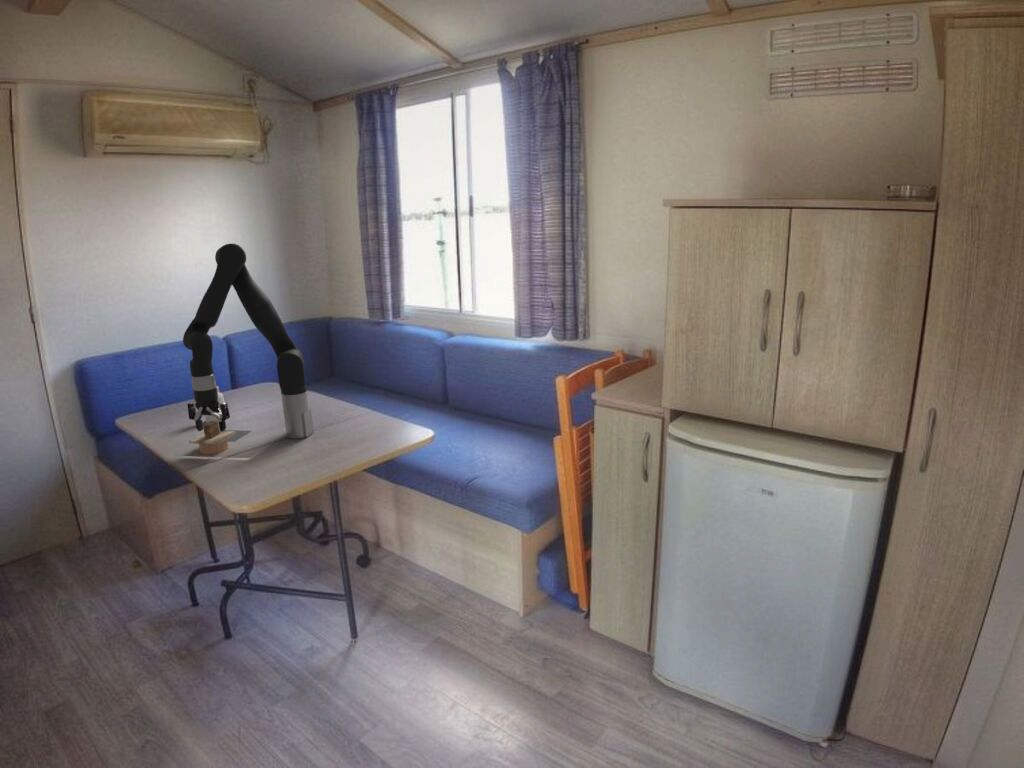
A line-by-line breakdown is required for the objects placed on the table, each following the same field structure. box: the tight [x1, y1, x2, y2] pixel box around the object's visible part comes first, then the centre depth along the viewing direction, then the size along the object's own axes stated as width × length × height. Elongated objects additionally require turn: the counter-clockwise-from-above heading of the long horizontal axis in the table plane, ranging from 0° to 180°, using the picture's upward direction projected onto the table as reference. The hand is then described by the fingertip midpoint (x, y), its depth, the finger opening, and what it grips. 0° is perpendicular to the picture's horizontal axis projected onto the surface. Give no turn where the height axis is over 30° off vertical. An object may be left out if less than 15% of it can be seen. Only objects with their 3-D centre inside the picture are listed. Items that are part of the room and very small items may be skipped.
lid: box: [188, 421, 236, 445], centre depth 220 cm, size 11×11×6 cm
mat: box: [224, 429, 252, 443], centre depth 235 cm, size 12×12×1 cm
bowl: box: [198, 439, 229, 455], centre depth 221 cm, size 9×9×5 cm
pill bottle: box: [204, 385, 227, 424], centre depth 252 cm, size 8×8×15 cm
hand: (211, 430), depth 220 cm, fingers open, 8 cm apart
